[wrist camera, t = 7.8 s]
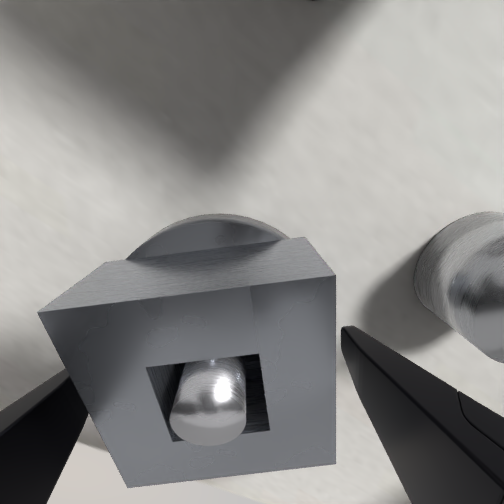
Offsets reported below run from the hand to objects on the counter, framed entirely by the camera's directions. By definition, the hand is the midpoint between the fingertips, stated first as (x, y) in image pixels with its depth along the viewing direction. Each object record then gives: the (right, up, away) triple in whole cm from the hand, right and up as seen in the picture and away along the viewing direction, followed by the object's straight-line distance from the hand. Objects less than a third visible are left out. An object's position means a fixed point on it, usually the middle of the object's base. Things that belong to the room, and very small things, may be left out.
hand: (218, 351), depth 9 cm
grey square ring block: (0, 0, +1) cm, 1 cm away
